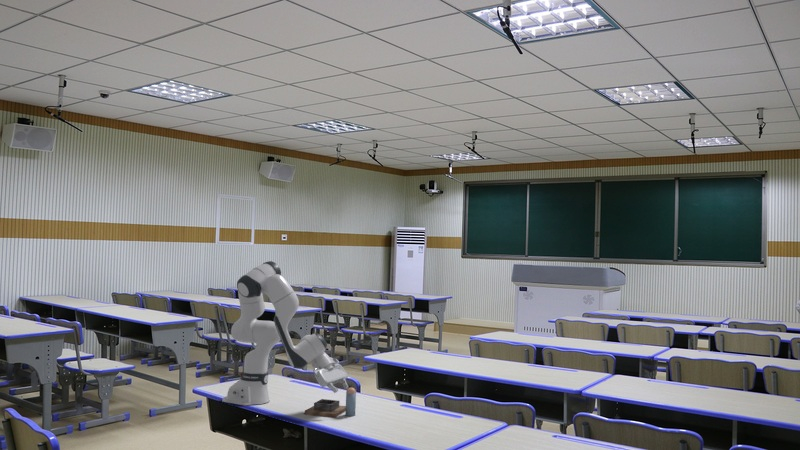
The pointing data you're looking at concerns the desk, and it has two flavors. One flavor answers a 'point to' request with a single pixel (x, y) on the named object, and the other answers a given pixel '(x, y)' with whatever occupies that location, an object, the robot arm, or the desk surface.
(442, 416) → the desk surface
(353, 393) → the peach-tipped grey cylinder
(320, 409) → the jig
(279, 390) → the desk surface
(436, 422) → the desk surface
